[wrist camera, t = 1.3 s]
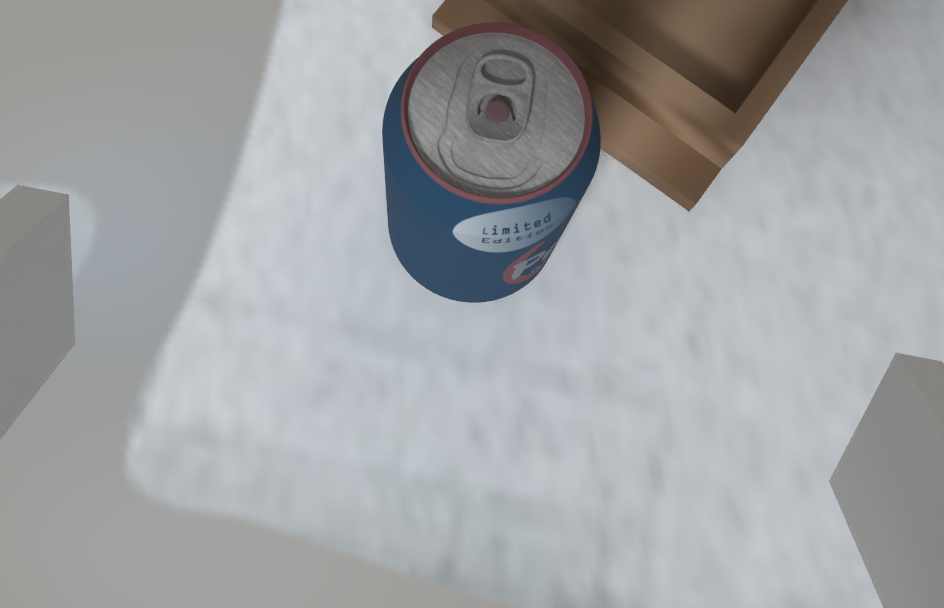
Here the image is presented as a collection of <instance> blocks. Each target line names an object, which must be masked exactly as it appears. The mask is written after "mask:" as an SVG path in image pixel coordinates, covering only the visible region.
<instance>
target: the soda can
mask: <svg viewBox="0 0 944 608" xmlns="http://www.w3.org/2000/svg"><path fill="white" fill-rule="evenodd" d="M382 136H383V153H384V168H385V183H386V199H387V214H388V227H389V234H390V239H391V243H392V246H393V248H394V251H395V253H396V255H397V257H398V259H399V261H400V262H401V264H402V265H403V267H404V268H405V269H406V271H407V272H408V273H409V274H410V275H411V276H412V277H413V278H414V279H415V280H416V281H417V282H418V283H420V284H421V285H422V286H424V287H425V288H427V289H428V290H430V291H432V292H433V293H435V294H438V295H440V296H442V297H445V298H448V299H451V300H456V301H461V302H472V303H473V302H487V301H493V300H497V299H500V298H503V297H506V296H508V295H511V294H513V293H514V292H516V291H518V290H520V289H521V288H523V287H524V286H526V285H527V284H528V283H529V282H530V281H532V280H533V279H534V278H535V277H536V276H537V274H538V273H539V272H540V271H541V270H542V268H543V267H544V265H545V264H546V262H547V260H548V258H549V257H550V255H551V253H552V251H553V249H554V248H555V246H556V244H557V242H558V240H559V239H560V237H561V235H562V233H563V231H564V230H565V228H566V226H567V224H568V222H569V221H570V219H571V217H572V215H573V213H574V211H575V210H576V208H577V206H578V204H579V202H580V201H581V199H582V197H583V195H584V193H585V192H586V190H587V188H588V186H589V184H590V183H591V180H592V178H593V176H594V174H595V171H596V168H597V164H598V160H599V155H600V146H601V134H600V124H599V119H598V115H597V111H596V108H595V105H594V103H593V100H592V98H591V96H590V92H589V89H588V86H587V83H586V81H585V79H584V77H583V75H582V73H581V71H580V69H579V68H578V66H577V65H576V63H575V62H574V61H573V60H572V58H571V57H570V56H569V55H568V54H567V53H566V52H565V51H564V50H563V49H562V48H561V47H560V46H559V45H557V44H556V43H555V42H553V41H552V40H550V39H549V38H547V37H545V36H544V35H542V34H540V33H538V32H536V31H534V30H531V29H528V28H525V27H522V26H518V25H514V24H508V23H494V22H490V23H479V24H474V25H469V26H465V27H462V28H459V29H457V30H454V31H452V32H450V33H448V34H446V35H444V36H443V37H441V38H440V39H438V40H437V41H435V42H434V43H433V44H431V45H430V46H429V47H428V48H427V49H426V50H425V51H424V52H423V53H422V54H421V55H420V57H418V58H417V59H416V60H415V61H414V62H413V63H412V64H411V65H410V66H409V67H408V68H407V69H406V70H405V71H404V73H403V74H402V75H401V77H400V78H399V80H398V81H397V83H396V84H395V86H394V88H393V90H392V92H391V94H390V97H389V99H388V102H387V105H386V109H385V113H384V119H383V129H382Z"/></svg>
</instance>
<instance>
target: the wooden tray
mask: <svg viewBox="0 0 944 608" xmlns="http://www.w3.org/2000/svg"><path fill="white" fill-rule="evenodd" d="M847 1H848V0H445V2H444V3H443V4H442V5H441V6H440V7H439V9H438V10H437V11H436V12H435V13H434V14H433V17H432V28H434V29H435V30H437V31H438V32H439V33H441V34H442V35H446V34H448V33H450V32H452V31H454V30H457V29H459V28H462V27H465V26H469V25H474V24H479V23H490V22H494V23H508V24H514V25H518V26H522V27H525V28H528V29H531V30H534V31H536V32H538V33H540V34H542V35H544V36H545V37H547V38H549V39H550V40H552V41H553V42H555V43H556V44H557V45H559V46H560V47H561V48H562V49H563V50H564V51H565V52H566V53H567V54H568V55H569V56H570V57H571V58H572V60H573V61H574V62H575V63H576V65H577V66H578V68H579V69H580V71H581V73H582V75H583V77H584V79H585V81H586V83H587V86H588V89H589V92H590V96H591V98H592V100H593V103H594V105H595V108H596V111H597V115H598V119H599V124H600V134H601V146H600V148H601V149H603V150H604V151H606V152H607V153H608V154H610V155H611V156H613V157H614V158H615V159H617V160H618V161H620V162H621V163H622V164H624V165H625V166H627V167H628V168H629V169H631V170H632V171H634V172H635V173H636V174H638V175H639V176H641V177H642V178H643V179H645V180H646V181H648V182H649V183H650V184H652V185H653V186H655V187H656V188H657V189H659V190H660V191H662V192H663V193H664V194H666V195H667V196H669V197H670V198H671V199H673V200H674V201H676V202H677V203H678V204H680V205H681V206H683V207H684V208H685V209H687V210H688V211H690V210H691V209H692V208H693V207H694V206H695V205H696V203H697V202H698V201H699V199H700V198H701V197H702V195H703V194H704V192H705V191H706V190H707V188H708V187H709V185H710V184H711V183H712V181H713V180H714V179H715V177H716V176H717V174H718V173H719V172H720V170H721V169H722V168H723V167H724V166H725V165H726V163H727V162H728V161H729V160H730V159H731V158H732V157H733V156H734V155H735V154H736V153H737V151H738V150H739V149H740V148H741V147H742V146H743V145H744V143H745V142H746V141H747V139H748V138H749V136H750V135H751V134H752V132H753V131H754V129H755V128H756V127H757V125H758V124H759V123H760V121H761V120H762V118H763V117H764V116H765V114H766V113H767V111H768V110H769V109H770V107H771V106H772V105H773V103H774V102H775V100H776V99H777V98H778V96H779V95H780V93H781V92H782V91H783V89H784V88H785V87H786V85H787V84H788V82H789V81H790V80H791V78H792V77H793V75H794V74H795V73H796V71H797V70H798V69H799V67H800V66H801V64H802V63H803V62H804V60H805V59H806V57H807V56H808V55H809V53H810V52H811V50H812V49H813V48H814V46H815V45H816V44H817V42H818V41H819V39H820V38H821V37H822V35H823V34H824V32H825V31H826V30H827V28H828V27H829V26H830V24H831V23H832V21H833V20H834V19H835V17H836V16H837V14H838V13H839V12H840V10H841V9H842V8H843V6H844V5H845V3H846V2H847Z"/></svg>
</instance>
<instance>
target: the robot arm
mask: <svg viewBox="0 0 944 608" xmlns="http://www.w3.org/2000/svg"><path fill="white" fill-rule="evenodd" d="M73 307H74V306H73V283H72V260H71V237H70V215H69V195H67V194H62V193H57V192H52V191H46V190H41V189H36V188H31V187H25V186H20V185H17V186H16V187H15V188H13V189H12V190H11V191H10V192H9V193H7V194H6V195H5V196H4V197H2V198H1V199H0V439H1V438H2V436H3V435H4V434H5V433H6V431H7V430H8V429H9V427H10V426H11V425H12V424H13V422H14V421H15V420H16V418H17V417H18V416H19V415H20V413H21V412H22V411H23V410H24V408H25V407H26V406H27V404H28V403H29V402H30V401H31V399H32V398H33V397H34V396H35V394H36V393H37V391H38V390H39V389H40V388H41V387H42V385H43V384H44V383H45V382H46V380H47V379H48V378H49V376H50V375H51V374H52V373H53V371H54V370H55V369H56V367H57V366H58V365H59V364H60V362H61V361H62V360H63V358H64V357H65V356H66V355H67V353H68V352H69V351H70V350H71V348H72V347H73V346H74V345H75V329H74V308H73ZM829 482H830V484H831V487H832V489H833V491H834V494H835V496H836V498H837V501H838V503H839V505H840V508H841V510H842V512H843V515H844V517H845V519H846V522H847V524H848V526H849V529H850V531H851V533H852V536H853V538H854V540H855V543H856V545H857V547H858V550H859V552H860V554H861V556H862V559H863V561H864V563H865V566H866V568H867V570H868V573H869V575H870V577H871V580H872V582H873V584H874V587H875V589H876V591H877V594H878V596H879V598H880V601H881V603H882V605H883V608H944V364H943V363H942V361H936V360H931V359H926V358H921V357H916V356H910V355H905V354H900V353H896V354H895V356H894V357H893V359H892V361H891V363H890V365H889V367H888V369H887V371H886V373H885V375H884V377H883V379H882V380H881V382H880V384H879V386H878V388H877V390H876V392H875V394H874V396H873V398H872V400H871V402H870V404H869V405H868V407H867V409H866V411H865V413H864V415H863V417H862V419H861V421H860V423H859V425H858V427H857V428H856V430H855V432H854V434H853V436H852V438H851V440H850V442H849V444H848V446H847V448H846V450H845V451H844V453H843V455H842V457H841V459H840V461H839V463H838V465H837V467H836V469H835V471H834V473H833V475H832V476H831V478H830V480H829Z"/></svg>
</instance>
